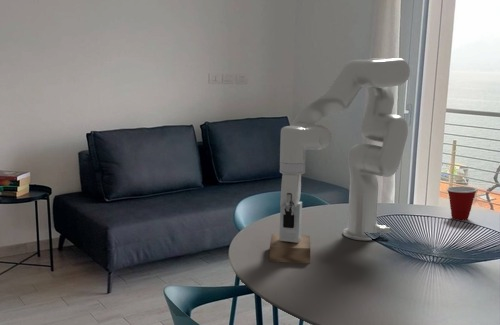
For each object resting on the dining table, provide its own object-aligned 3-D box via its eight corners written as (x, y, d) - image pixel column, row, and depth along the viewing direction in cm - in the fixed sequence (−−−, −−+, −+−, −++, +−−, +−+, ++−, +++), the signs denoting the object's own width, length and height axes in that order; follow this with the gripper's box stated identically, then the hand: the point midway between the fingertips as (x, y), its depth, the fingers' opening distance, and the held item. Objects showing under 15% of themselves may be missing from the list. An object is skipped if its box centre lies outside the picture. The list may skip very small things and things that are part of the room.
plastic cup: (452, 212, 215) (455, 183, 212) (479, 218, 207) (482, 188, 205) (438, 217, 207) (441, 187, 205) (466, 224, 200) (468, 192, 197)
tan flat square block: (309, 250, 172) (309, 235, 171) (309, 264, 160) (310, 248, 159) (271, 249, 173) (271, 234, 172) (269, 262, 161) (269, 246, 160)
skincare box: (300, 239, 167) (302, 201, 165) (298, 243, 163) (300, 204, 161) (281, 237, 168) (283, 199, 167) (278, 241, 164) (280, 202, 163)
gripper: (284, 161, 170) (283, 214, 174) (274, 172, 154) (273, 230, 157) (308, 163, 169) (306, 215, 172) (301, 174, 152) (299, 232, 155)
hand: (291, 222), depth 165 cm, fingers open, 9 cm apart
